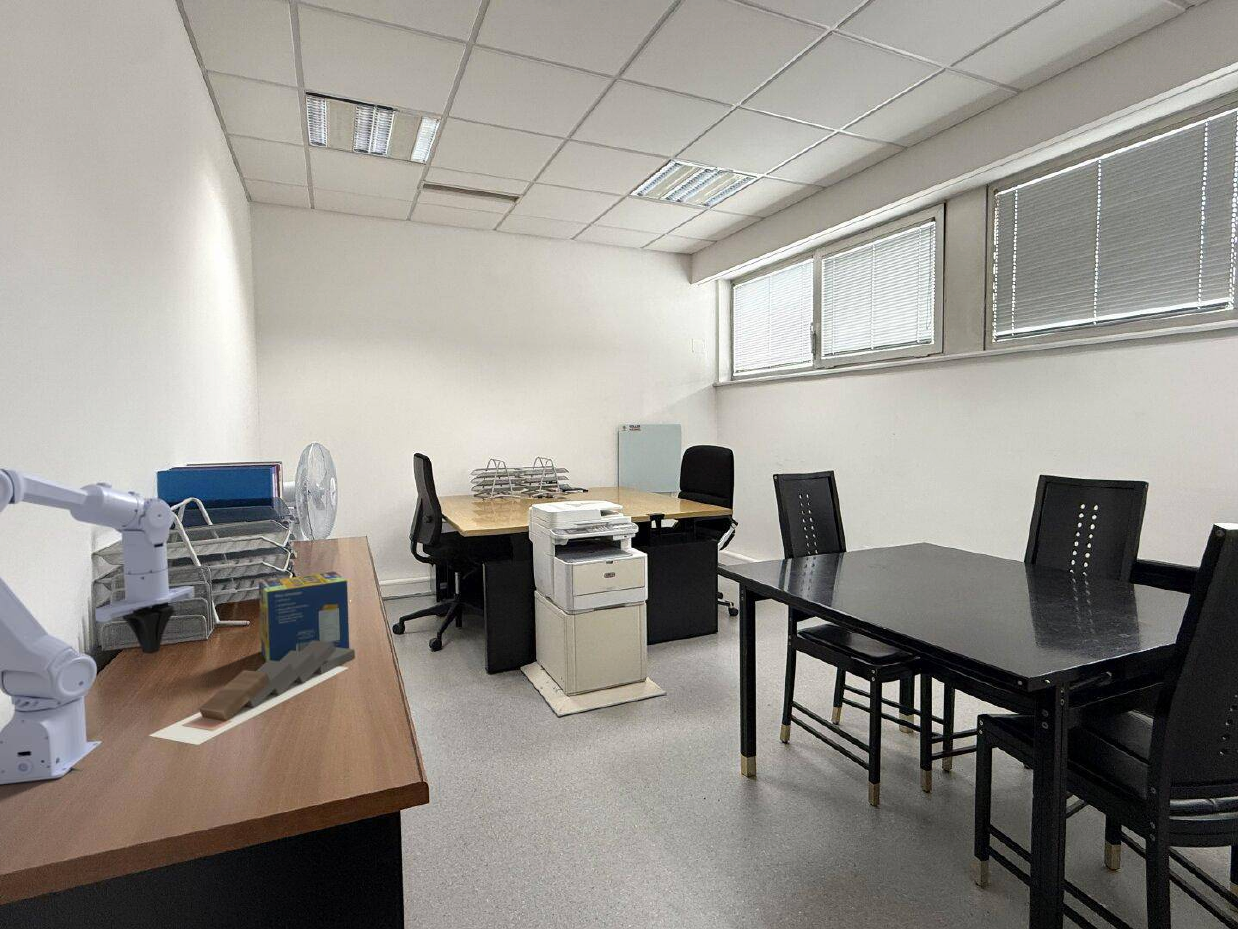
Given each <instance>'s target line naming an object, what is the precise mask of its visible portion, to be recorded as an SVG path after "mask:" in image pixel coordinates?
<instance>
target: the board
mask: <svg viewBox="0 0 1238 929" xmlns="http://www.w3.org/2000/svg"><path fill="white" fill-rule="evenodd" d="M347 669H349V667H348V666H341V665H340V666H338V667H336V668H334V669H332V670H330V671H328V672H326V673H324V674H322V675H318V674H312V675H311V676H310V677H309V678H308V679H307V680H306V681H305V682H304V683H303V684H302V683H295V682H293V683H292V684H291V685H290V686H289V687H288V688H287V689H286V690H285V691H284V692H283V693H282V694H280V695H279V696H276V695H270V694H269V695H268V696H266V697H265V698H264V699H263V700H262V701H261V702H260V703H259V704H258V705H257V706H256V707H255V708H248V707H241V708H240V709H239V710H238V711H237V712H236V713H235V714H234V715H233V716H232V717H231V718H229V719H228V720H227V721H222V720H216V719H210V718H204V717H202V715H201V713H200V711H199V712H196V713H195V714H192V715H191V716H189V717H188V716H187V717H186V718H184V719H182V720H179V721H177V722H175V723H173V724H171V725H168V726H167V727H164V728H161V729H160V730H157V731H155V732H154V733H151V734H149V735H148V737H153V738H157V739H163V740H168V741H174V742H180V743H184V744H188V745H189V744H190V745H195V746H200V745H201V744H203V743H205V742H207V741H208V740H211V739H213V738H215V737H218V735H220V734H222V733H225V732H227V731H229V730H231V729H233V728H234V727H237V726H238V725H240V724H242V723H244V722H246V721H248V720H250V719H252V718H254V717H256V716H258V715H259V714H262V713H263V712H265V711H267V710H269V709H272V708H273V707H276V706H277V705H280V704H281V703H283V702H285V701H287V700H290V699H291V698H293V697H295V696H297V695H299V694H301V693H302V692H305V691H306V690H309V689H310V688H312V687H315V686H316V685H319V684H321V683H322V682H324V681H326V680H329V679H330V678H333V677H335V675H338V674H340V673H341V672H344V671H346V670H347Z"/></svg>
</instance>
